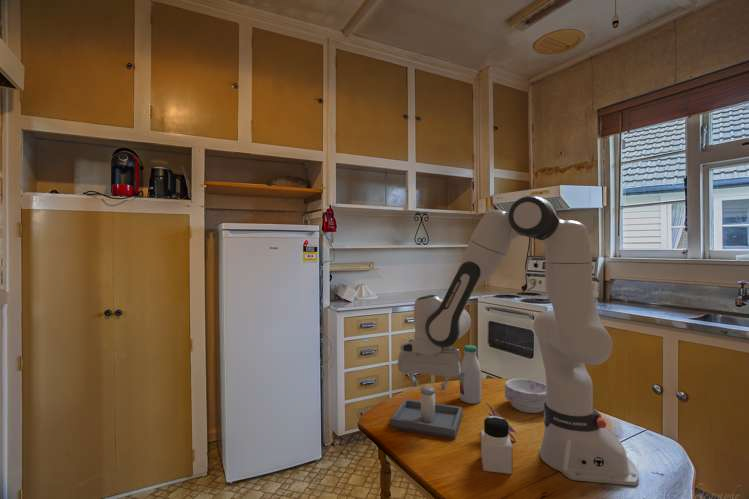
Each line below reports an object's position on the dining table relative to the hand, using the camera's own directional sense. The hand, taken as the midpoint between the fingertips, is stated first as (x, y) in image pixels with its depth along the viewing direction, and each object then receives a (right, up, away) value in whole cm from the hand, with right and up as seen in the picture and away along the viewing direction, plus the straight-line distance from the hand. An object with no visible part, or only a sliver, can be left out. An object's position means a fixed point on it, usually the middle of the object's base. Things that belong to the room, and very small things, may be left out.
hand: (429, 387), depth 122 cm
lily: (+20, -12, -10) cm, 25 cm away
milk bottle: (+18, -11, +17) cm, 27 cm away
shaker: (0, -10, 0) cm, 10 cm away
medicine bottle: (+14, -12, -23) cm, 30 cm away
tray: (-1, -11, 0) cm, 11 cm away
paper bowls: (+36, -11, +11) cm, 39 cm away
